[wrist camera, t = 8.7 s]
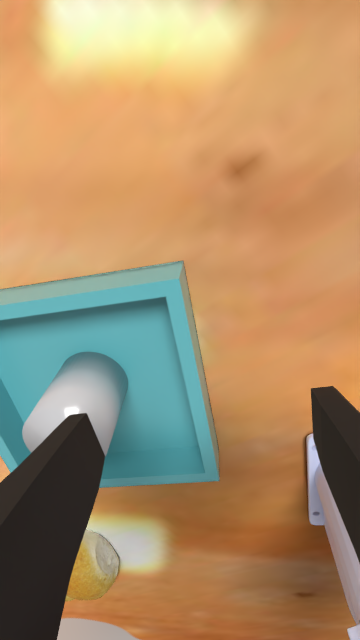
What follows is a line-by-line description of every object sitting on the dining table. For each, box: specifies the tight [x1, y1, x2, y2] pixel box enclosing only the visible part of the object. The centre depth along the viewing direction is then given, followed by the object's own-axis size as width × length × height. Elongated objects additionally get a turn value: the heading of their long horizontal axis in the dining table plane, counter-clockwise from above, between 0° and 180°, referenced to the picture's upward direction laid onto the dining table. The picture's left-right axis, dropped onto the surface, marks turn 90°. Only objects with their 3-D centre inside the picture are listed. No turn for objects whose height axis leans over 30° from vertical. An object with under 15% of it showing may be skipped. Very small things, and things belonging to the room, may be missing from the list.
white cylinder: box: [22, 352, 128, 457], centre depth 20 cm, size 4×4×5 cm
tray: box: [0, 261, 219, 488], centre depth 21 cm, size 14×14×3 cm
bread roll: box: [65, 530, 119, 601], centre depth 31 cm, size 8×9×4 cm
